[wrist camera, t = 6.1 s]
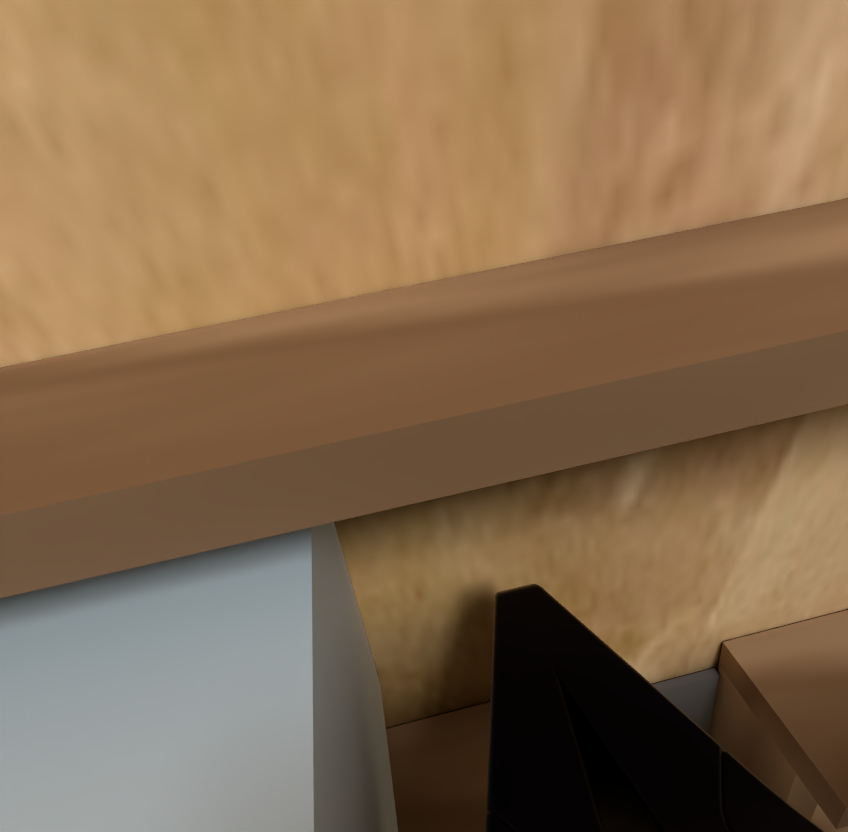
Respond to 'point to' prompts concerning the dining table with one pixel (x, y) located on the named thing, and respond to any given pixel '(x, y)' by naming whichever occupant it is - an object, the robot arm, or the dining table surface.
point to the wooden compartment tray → (458, 448)
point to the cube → (196, 698)
